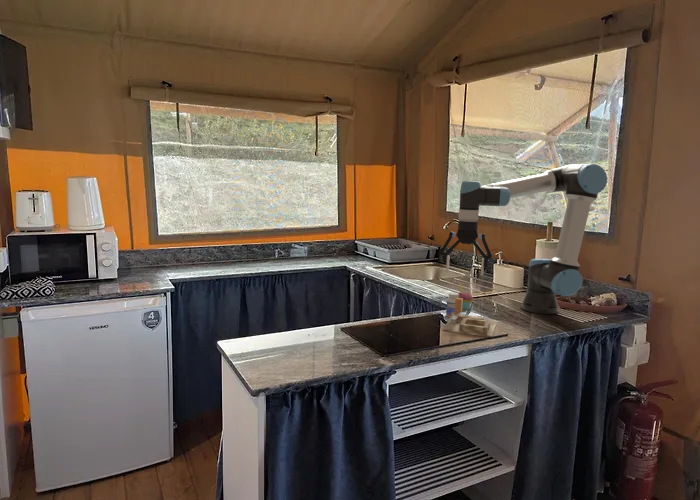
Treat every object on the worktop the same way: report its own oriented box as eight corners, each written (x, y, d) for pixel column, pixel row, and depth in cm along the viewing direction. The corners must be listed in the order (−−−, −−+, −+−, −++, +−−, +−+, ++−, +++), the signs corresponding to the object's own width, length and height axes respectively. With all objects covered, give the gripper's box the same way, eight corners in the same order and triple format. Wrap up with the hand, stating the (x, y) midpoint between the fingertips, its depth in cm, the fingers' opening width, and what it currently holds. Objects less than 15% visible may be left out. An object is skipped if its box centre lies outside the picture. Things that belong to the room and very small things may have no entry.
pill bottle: (449, 313, 206) (451, 291, 204) (461, 316, 203) (462, 293, 201) (443, 316, 202) (444, 293, 200) (455, 318, 198) (456, 295, 197)
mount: (496, 325, 191) (496, 317, 191) (492, 337, 176) (492, 329, 175) (450, 319, 198) (450, 311, 197) (442, 330, 182) (443, 322, 182)
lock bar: (461, 314, 193) (462, 298, 192) (456, 323, 180) (457, 306, 179) (455, 313, 194) (456, 297, 193) (449, 322, 181) (450, 305, 180)
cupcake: (458, 311, 210) (460, 284, 208) (449, 306, 218) (451, 280, 216) (476, 310, 212) (477, 283, 211) (466, 305, 220) (468, 279, 219)
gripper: (501, 221, 190) (497, 274, 193) (438, 217, 198) (434, 268, 201) (500, 223, 183) (496, 278, 186) (435, 219, 191) (431, 271, 194)
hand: (464, 273), depth 193 cm, fingers open, 13 cm apart
